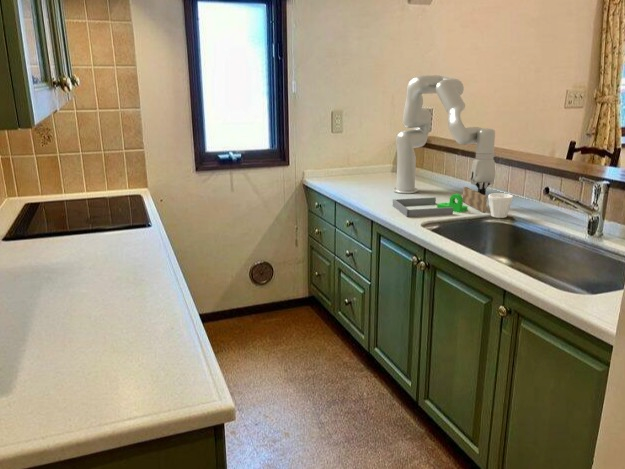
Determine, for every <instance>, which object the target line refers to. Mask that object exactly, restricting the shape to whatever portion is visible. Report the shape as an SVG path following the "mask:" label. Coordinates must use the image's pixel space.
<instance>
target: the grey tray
mask: <svg viewBox="0 0 625 469" xmlns="http://www.w3.org/2000/svg"><path fill="white" fill-rule="evenodd" d="M436 199H437V197H435V196H433V197H432V196H431V197H416V198H414V197H413V198H395V199H392V207H393V208H395V209H396V210H397V211H399V212H400V213H401V214H402V215H403V216H405V217H406V218H413V217H429V216H432V217H433V216H445V215H448V216H449V215H453V214H454V211H453V207H446V208H437V207H431V208H415V209H414V208H413V209H409V208H407V207H406V206H420V205H422V206H423V205H424V206H425V205H435V204H436V203H437V200H436ZM436 205H437V204H436Z"/></svg>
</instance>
